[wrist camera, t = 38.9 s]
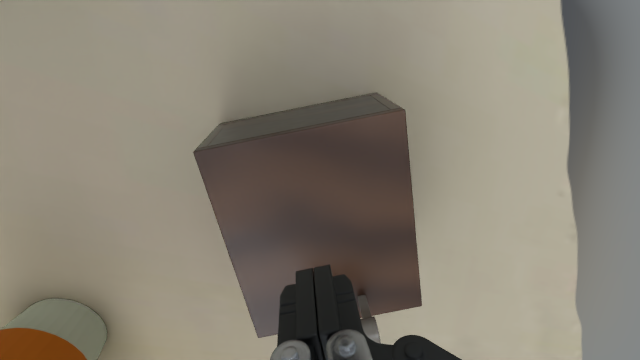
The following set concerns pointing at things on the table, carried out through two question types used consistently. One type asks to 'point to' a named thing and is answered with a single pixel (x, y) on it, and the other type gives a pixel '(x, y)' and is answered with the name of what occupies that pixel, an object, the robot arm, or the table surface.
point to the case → (298, 118)
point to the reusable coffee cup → (54, 333)
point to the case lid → (319, 213)
